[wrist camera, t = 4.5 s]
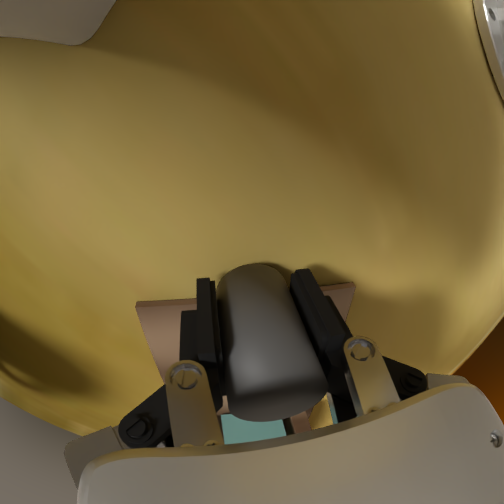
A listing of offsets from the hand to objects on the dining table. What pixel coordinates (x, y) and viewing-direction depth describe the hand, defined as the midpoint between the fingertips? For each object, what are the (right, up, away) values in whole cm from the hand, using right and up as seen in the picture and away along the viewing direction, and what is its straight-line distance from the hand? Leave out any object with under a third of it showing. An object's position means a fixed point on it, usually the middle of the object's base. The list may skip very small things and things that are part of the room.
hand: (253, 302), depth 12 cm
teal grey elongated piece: (0, -6, +4) cm, 8 cm away
